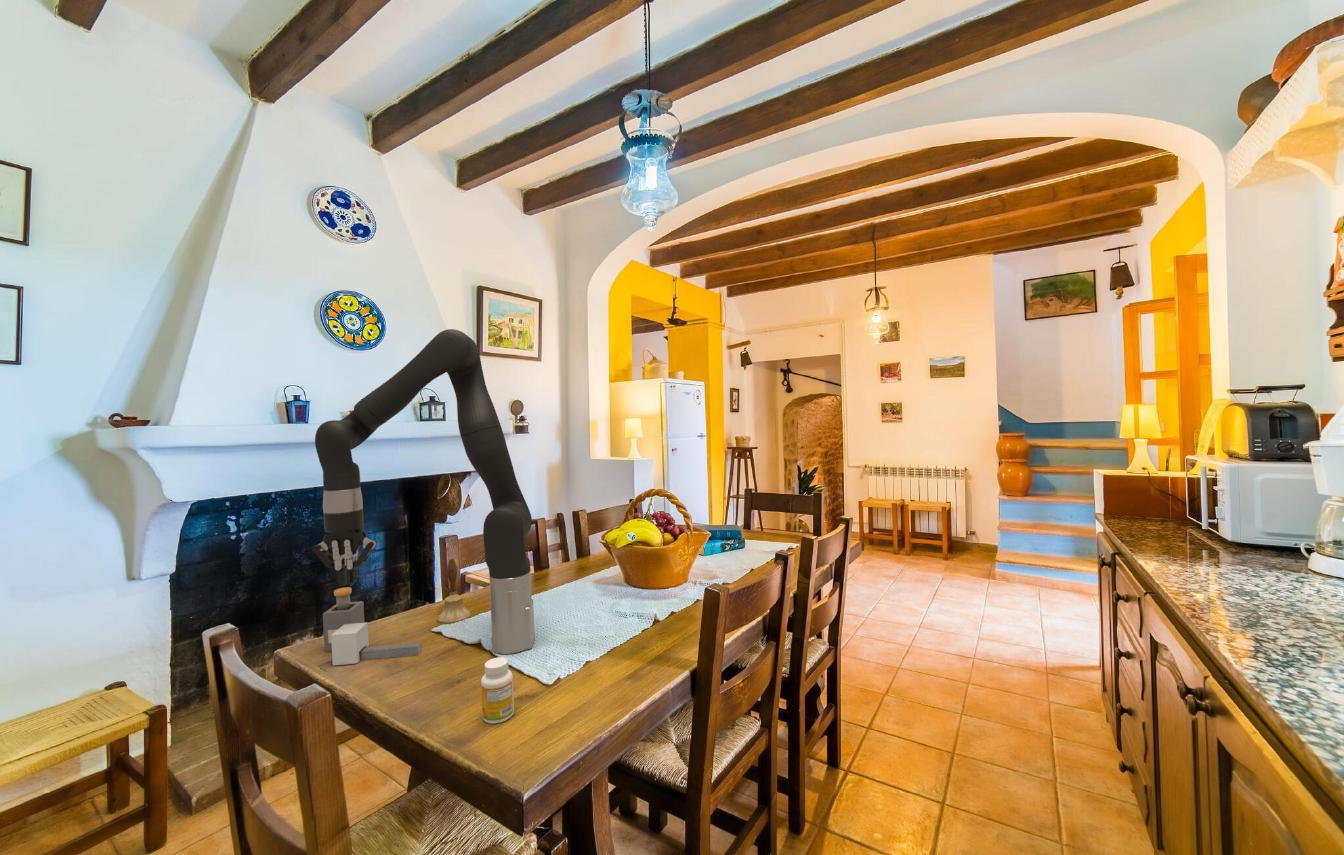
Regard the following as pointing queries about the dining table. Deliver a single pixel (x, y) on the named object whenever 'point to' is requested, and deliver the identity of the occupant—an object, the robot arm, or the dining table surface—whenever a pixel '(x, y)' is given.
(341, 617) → the grey square housing
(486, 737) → the dining table surface
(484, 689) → the supplement bottle
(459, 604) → the hand bell
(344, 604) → the ball
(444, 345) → the robot arm
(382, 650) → the rail
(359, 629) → the carriage
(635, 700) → the dining table surface
